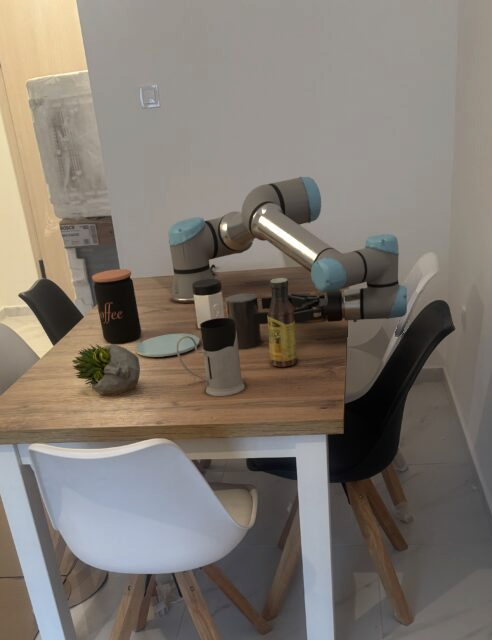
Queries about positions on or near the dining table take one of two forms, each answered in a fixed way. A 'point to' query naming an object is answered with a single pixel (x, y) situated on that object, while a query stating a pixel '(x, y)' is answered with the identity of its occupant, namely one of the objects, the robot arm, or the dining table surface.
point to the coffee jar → (117, 306)
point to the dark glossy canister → (244, 319)
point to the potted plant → (108, 369)
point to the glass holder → (219, 357)
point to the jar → (208, 300)
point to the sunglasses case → (322, 315)
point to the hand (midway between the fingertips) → (258, 310)
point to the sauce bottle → (281, 325)
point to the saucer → (166, 345)
